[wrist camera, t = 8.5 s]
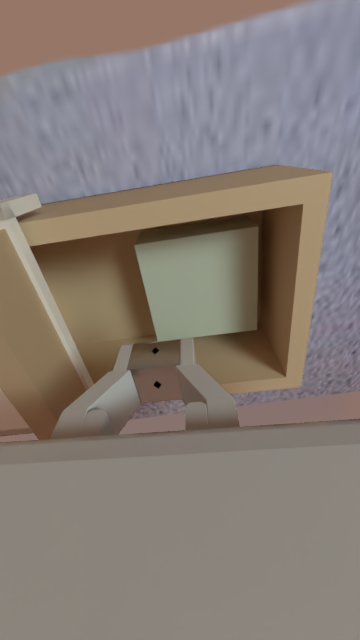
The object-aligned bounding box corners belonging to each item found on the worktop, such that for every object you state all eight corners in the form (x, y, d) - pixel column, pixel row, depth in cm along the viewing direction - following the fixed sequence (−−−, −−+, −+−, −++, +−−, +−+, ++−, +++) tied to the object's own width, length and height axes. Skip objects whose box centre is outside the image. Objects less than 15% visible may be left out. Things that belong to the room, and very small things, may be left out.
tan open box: (276, 164, 16) (333, 171, 10) (269, 325, 22) (301, 386, 16) (2, 211, 17) (-89, 241, 11) (70, 349, 24) (33, 413, 18)
